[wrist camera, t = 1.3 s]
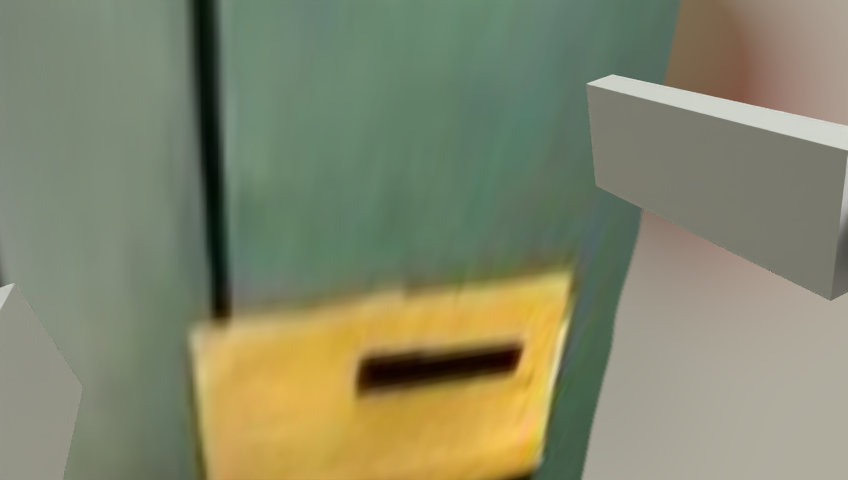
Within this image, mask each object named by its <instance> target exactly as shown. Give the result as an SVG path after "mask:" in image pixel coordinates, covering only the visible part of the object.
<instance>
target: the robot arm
mask: <svg viewBox="0 0 848 480" xmlns="http://www.w3.org/2000/svg"><path fill="white" fill-rule="evenodd" d="M586 87H587V98H588V108H589V119H590V129H591V140H592V150H593V161H594V171H595V182H596V186H598V187H600V188H602V189H604V190H606V191H608V192H610V193H612V194H614V195H616V196H618V197H620V198H622V199H624V200H626V201H628V202H630V203H632V204H634V205H636V206H639V207H641V208H643V209H645V210H647V211H649V212H651V213H653V214H655V215H657V216H659V217H661V218H663V219H665V220H667V221H669V222H671V223H673V224H675V225H677V226H679V227H681V228H683V229H686V230H687V231H689V232H691V233H694V234H696V235H698V236H700V237H702V238H704V239H706V240H708V241H710V242H712V243H714V244H716V245H718V246H720V247H722V248H724V249H726V250H728V251H730V252H732V253H734V254H736V255H738V256H741V257H742V258H744V259H747V260H749V261H751V262H753V263H755V264H757V265H759V266H761V267H763V268H765V269H767V270H769V271H771V272H773V273H775V274H777V275H779V276H781V277H783V278H785V279H787V280H789V281H792V282H793V283H795V284H797V285H800V286H802V287H804V288H806V289H808V290H810V291H812V292H814V293H816V294H818V295H820V296H822V297H824V298H826V299H828V300H830V301H831V300H833V299H835V298H837V297H839V296H841V295H843V294H845V293H847V292H848V126H845V125H840V124H835V123H831V122H827V121H822V120H818V119H813V118H808V117H804V116H799V115H795V114H790V113H786V112H781V111H777V110H772V109H767V108H763V107H758V106H754V105H749V104H744V103H740V102H735V101H731V100H726V99H722V98H717V97H712V96H708V95H703V94H699V93H694V92H690V91H685V90H680V89H676V88H671V87H667V86H662V85H658V84H653V83H648V82H644V81H639V80H635V79H630V78H626V77H621V76H616V75H610V76H607V77H604V78H601V79H599V80H596V81H593V82H590V83H587V84H586ZM82 392H83V386H82V385H81V383H80V382H79V380H78V379H77V377H76V376H75V374H74V373H73V371H72V370H71V368H70V367H69V365H68V363H67V362H66V360H65V359H64V357H63V356H62V354H61V353H60V351H59V350H58V348H57V347H56V345H55V343H54V342H53V340H52V339H51V337H50V336H49V334H48V333H47V331H46V330H45V328H44V327H43V325H42V323H41V322H40V320H39V319H38V317H37V316H36V314H35V313H34V311H33V310H32V308H31V307H30V305H29V303H28V302H27V300H26V299H25V297H24V296H23V294H22V293H21V291H20V290H19V288H18V287H17V285H16V283H12V284H9V285H7V286H4V287H1V288H0V480H63V476H64V472H65V468H66V463H67V459H68V454H69V450H70V445H71V441H72V436H73V432H74V427H75V423H76V418H77V414H78V409H79V405H80V400H81V396H82Z"/></svg>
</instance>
